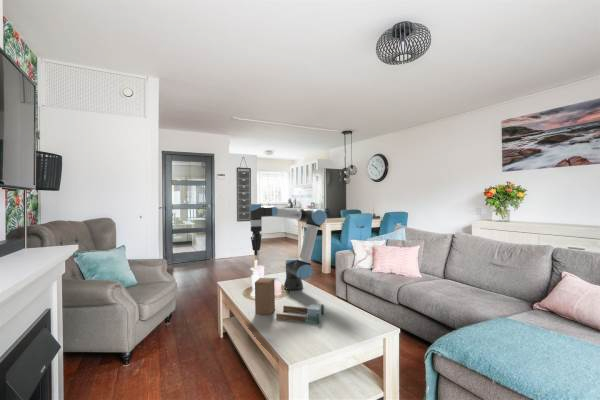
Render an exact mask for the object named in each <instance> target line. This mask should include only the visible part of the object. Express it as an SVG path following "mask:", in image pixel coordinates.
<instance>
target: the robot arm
mask: <svg viewBox="0 0 600 400" xmlns="http://www.w3.org/2000/svg"><path fill="white" fill-rule="evenodd" d="M249 208H250V209H249V211H250V221H249V222H250V233H252V236H250V240H251V248H252V251H253V253H254V254H253V255H254V256H253V257H254V258H253V259H254V261H258V260H260V250H261V243H262V237H263V236H262V235H263V234H261V232H262V231H263V229H262V225H263V224H262V218H264V217H272V218H283V219H289V220H290V219H291V220H296V222H303V223H305V225H306V226H305V227H306V231H305V233H304V234H305V235H304V237H303V241H302V246H301V248H300V249H301V250H300V254H299V257H296V258H295V257H294V258H287V259H285V280H284V281H285V282H284V284H283V288H284V287H285V288H287V289H289V290H288V291H299V290H302V289H304V288H303V287H304V284H303V281H304V280H308V279H310V277H311V276H312V275H313V268H312V261H311V258H312V255H313V251H314V246H315V243H316V238H317V234H318V230H319V229H321V226H322V225H323V224H324V223H325V222H326V214H325V212H324V211H323V210H321V209H317V208H297V209H293V208H286V207H285V208H284V207H277V206H276V205H262V203H251V204H250V207H249ZM302 280H303V281H302ZM285 288H284V289H285Z"/></svg>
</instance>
